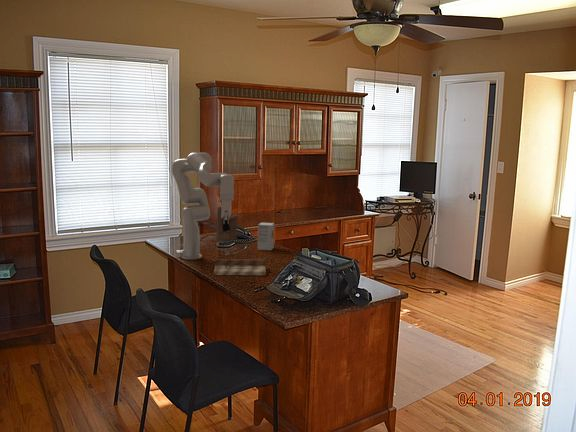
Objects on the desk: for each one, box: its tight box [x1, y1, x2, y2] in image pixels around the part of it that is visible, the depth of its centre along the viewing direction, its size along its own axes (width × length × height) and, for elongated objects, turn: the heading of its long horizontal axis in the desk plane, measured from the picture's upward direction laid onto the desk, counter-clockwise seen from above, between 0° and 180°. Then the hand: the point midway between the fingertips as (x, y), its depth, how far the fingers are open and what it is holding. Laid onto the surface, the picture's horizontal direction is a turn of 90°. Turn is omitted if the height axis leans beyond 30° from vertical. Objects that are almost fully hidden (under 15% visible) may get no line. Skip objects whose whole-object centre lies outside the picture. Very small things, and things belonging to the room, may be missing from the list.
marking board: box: [213, 258, 267, 276], centre depth 280 cm, size 28×14×5 cm, turn 94°
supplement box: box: [257, 222, 275, 251], centre depth 334 cm, size 10×9×17 cm
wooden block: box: [215, 206, 238, 241], centre depth 277 cm, size 4×11×18 cm, turn 108°
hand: (226, 229), depth 278 cm, fingers closed on wooden block, 4 cm apart
